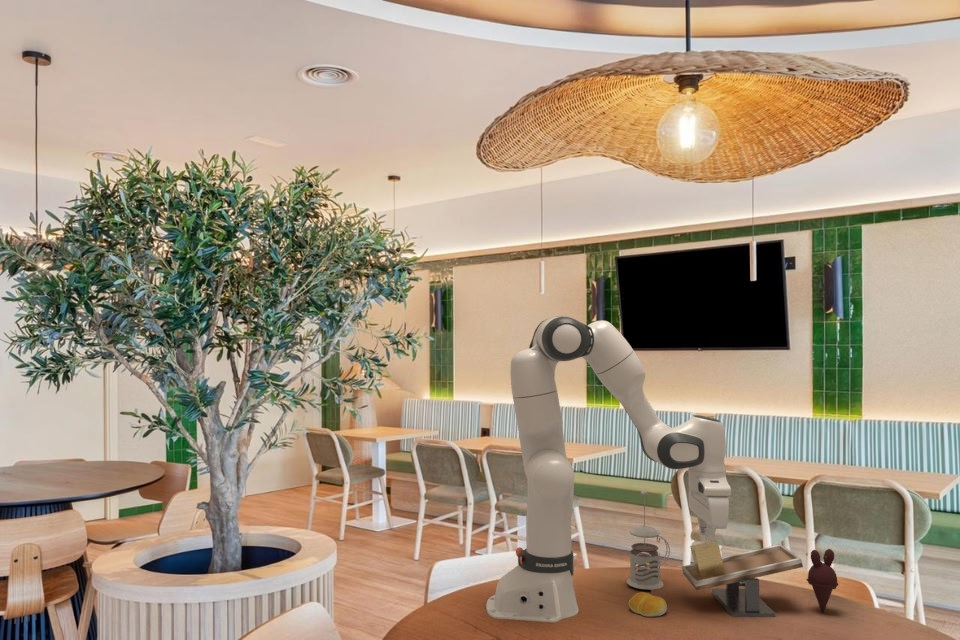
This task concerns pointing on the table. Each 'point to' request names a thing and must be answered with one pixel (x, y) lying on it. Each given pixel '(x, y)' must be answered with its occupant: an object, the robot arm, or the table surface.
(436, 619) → the table surface
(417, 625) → the table surface
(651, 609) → the bread roll
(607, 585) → the table surface
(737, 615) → the pivot stand
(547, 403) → the robot arm
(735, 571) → the balance beam
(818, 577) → the icecream
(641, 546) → the french press
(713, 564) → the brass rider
